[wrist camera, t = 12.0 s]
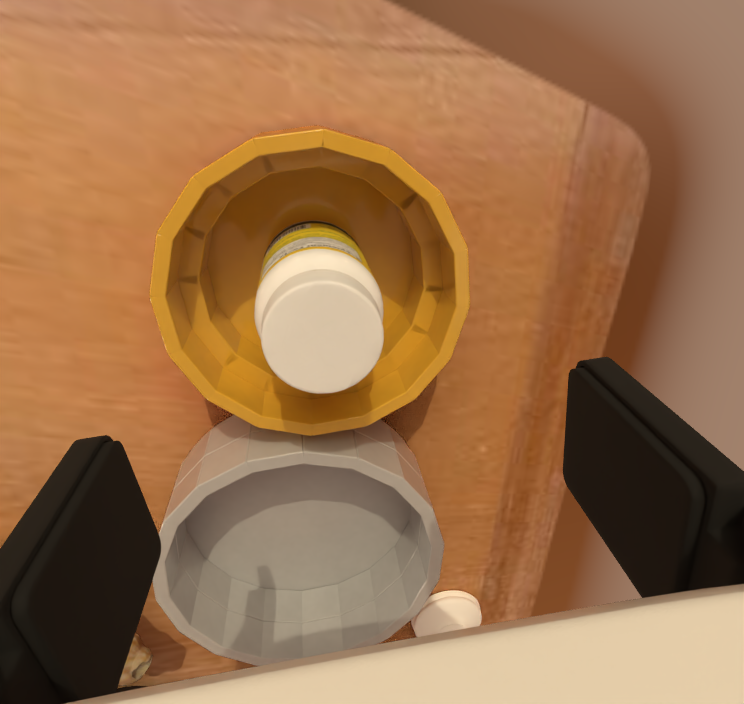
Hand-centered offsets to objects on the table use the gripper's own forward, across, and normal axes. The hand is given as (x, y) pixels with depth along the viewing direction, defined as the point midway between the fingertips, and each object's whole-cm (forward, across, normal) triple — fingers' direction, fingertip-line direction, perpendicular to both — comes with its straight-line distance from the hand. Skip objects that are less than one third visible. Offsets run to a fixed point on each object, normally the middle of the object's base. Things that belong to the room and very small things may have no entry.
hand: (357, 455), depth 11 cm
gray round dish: (+15, +4, +14) cm, 21 cm away
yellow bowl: (+15, +1, 0) cm, 15 cm away
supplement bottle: (+15, +1, 0) cm, 15 cm away
